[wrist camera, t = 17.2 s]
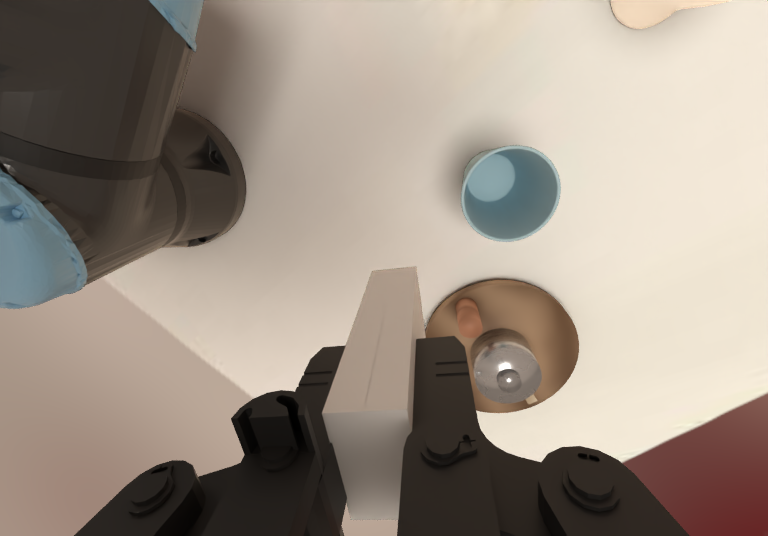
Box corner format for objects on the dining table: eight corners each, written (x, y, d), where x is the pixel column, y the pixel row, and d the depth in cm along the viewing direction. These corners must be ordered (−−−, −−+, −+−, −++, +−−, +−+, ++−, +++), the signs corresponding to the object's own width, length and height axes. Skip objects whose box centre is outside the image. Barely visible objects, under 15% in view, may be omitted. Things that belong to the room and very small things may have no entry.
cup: (491, 227, 41) (511, 259, 31) (437, 184, 40) (441, 203, 30) (542, 171, 38) (581, 188, 29) (487, 123, 37) (508, 124, 28)
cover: (488, 386, 46) (496, 419, 41) (459, 345, 44) (463, 374, 39) (541, 362, 44) (556, 393, 39) (512, 318, 42) (524, 345, 37)
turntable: (471, 423, 51) (476, 462, 45) (395, 326, 46) (391, 356, 40) (599, 366, 45) (625, 403, 39) (528, 251, 41) (545, 272, 35)
